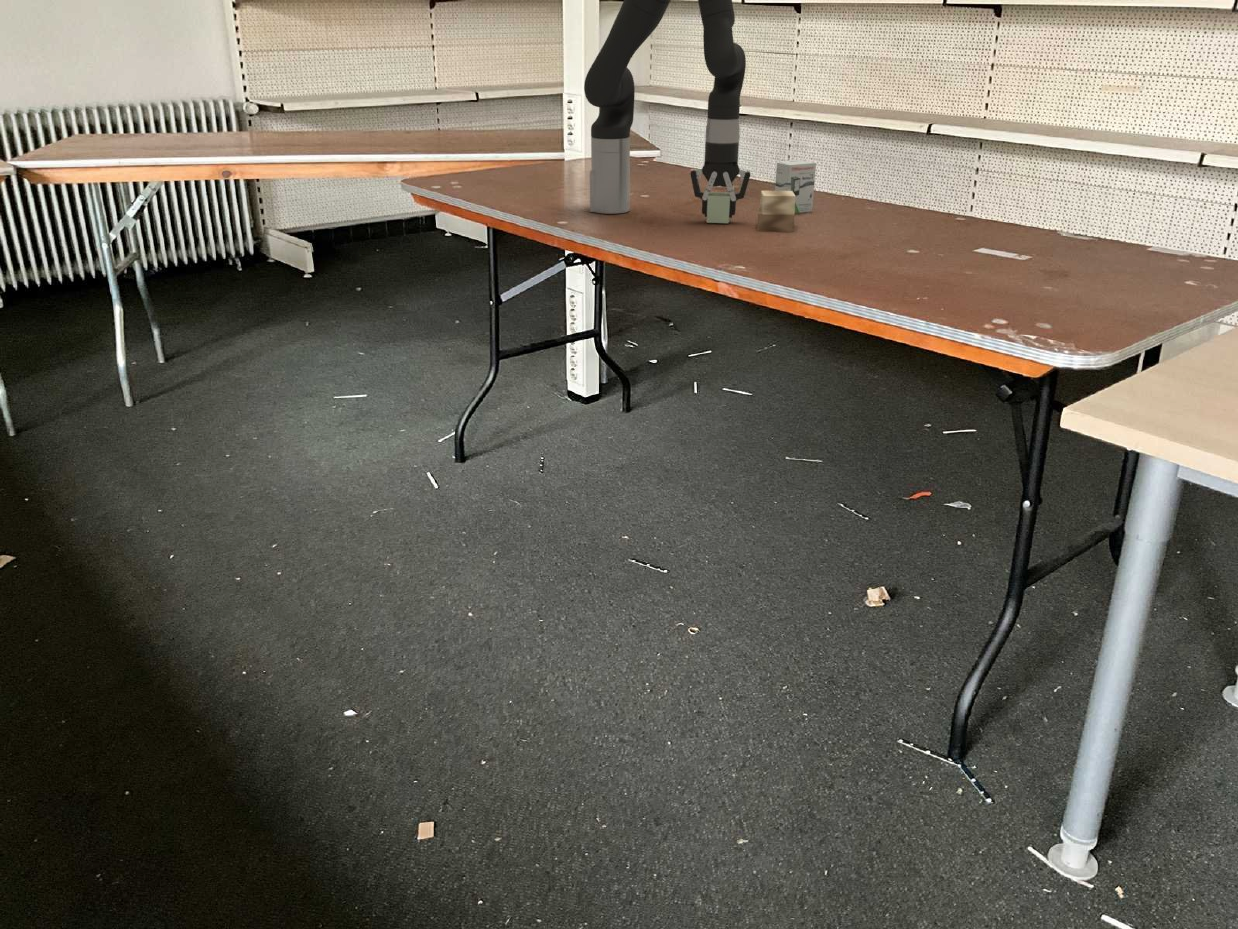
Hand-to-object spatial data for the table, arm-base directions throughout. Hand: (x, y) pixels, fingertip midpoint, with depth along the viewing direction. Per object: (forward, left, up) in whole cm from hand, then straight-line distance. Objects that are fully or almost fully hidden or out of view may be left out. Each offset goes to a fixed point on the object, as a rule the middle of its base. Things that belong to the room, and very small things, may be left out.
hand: (718, 216), depth 225 cm
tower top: (+13, -4, +2) cm, 14 cm away
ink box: (+17, +16, -2) cm, 23 cm away
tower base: (+13, -4, -2) cm, 14 cm away
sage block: (0, 0, -1) cm, 1 cm away
